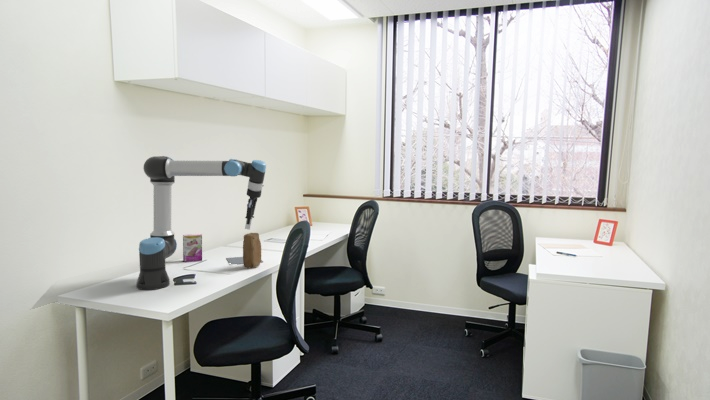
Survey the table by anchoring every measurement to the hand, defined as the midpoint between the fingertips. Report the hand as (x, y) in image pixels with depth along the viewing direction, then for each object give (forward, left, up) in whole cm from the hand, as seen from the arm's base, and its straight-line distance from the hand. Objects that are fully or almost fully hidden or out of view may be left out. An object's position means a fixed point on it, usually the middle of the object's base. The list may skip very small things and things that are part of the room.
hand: (247, 228), depth 240 cm
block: (+5, +15, -26) cm, 30 cm away
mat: (+3, +32, -25) cm, 41 cm away
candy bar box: (-27, +42, -26) cm, 56 cm away
